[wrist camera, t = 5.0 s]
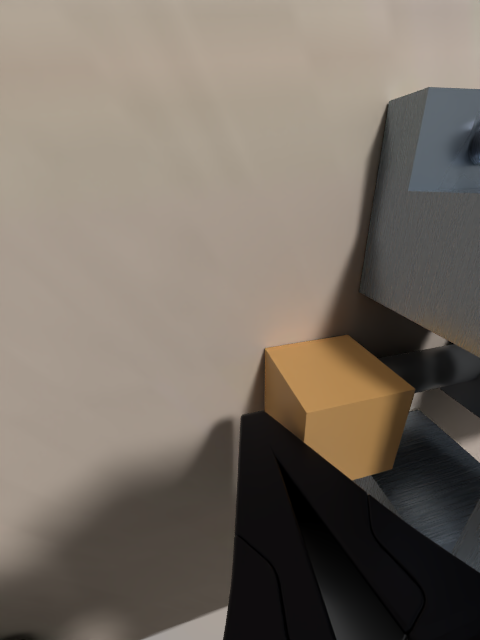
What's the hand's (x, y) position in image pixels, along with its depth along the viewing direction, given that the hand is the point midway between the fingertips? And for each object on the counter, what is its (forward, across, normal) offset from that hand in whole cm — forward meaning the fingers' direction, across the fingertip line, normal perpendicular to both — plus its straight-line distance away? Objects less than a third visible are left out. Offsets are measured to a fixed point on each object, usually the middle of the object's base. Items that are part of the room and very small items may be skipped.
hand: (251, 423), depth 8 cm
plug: (+2, -7, 0) cm, 8 cm away
